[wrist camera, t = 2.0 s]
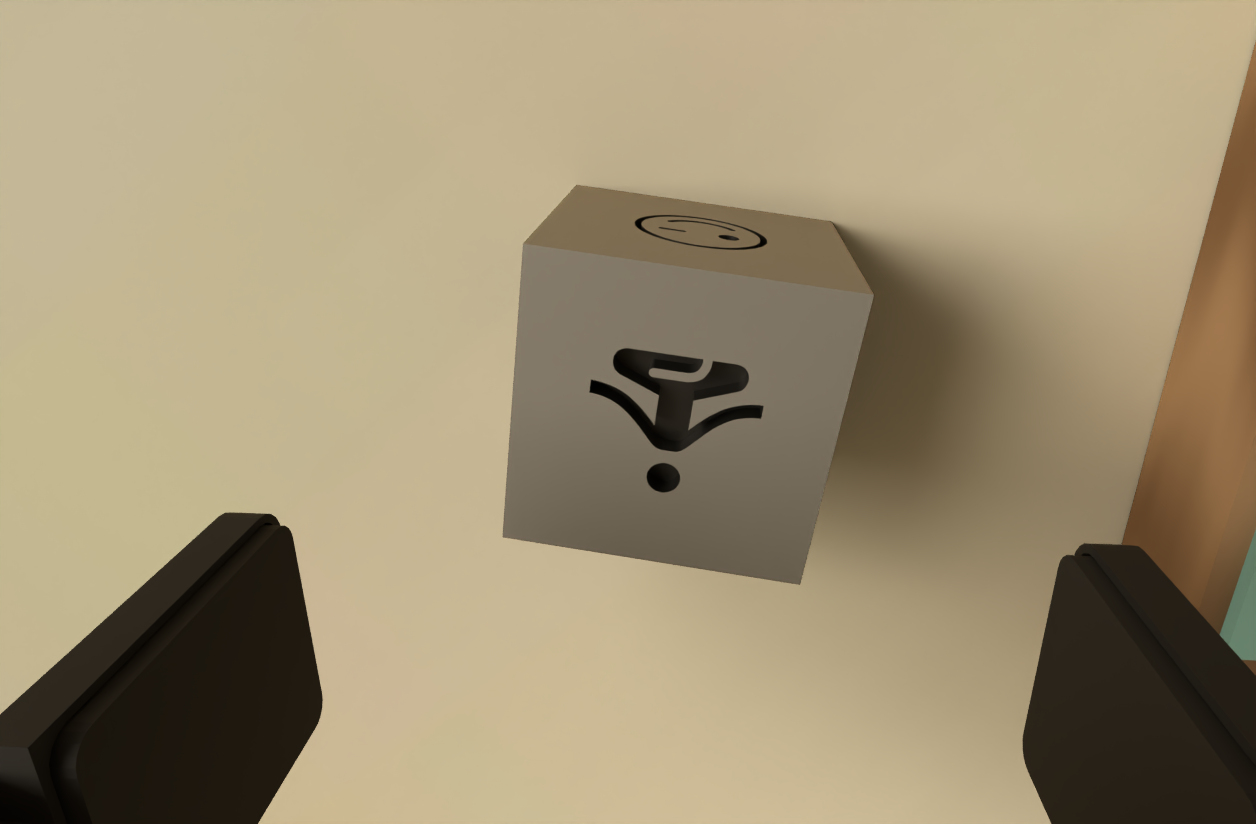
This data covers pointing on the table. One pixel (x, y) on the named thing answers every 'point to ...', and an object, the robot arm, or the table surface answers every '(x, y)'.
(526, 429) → the dice cube
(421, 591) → the table surface
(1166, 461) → the wooden block base
